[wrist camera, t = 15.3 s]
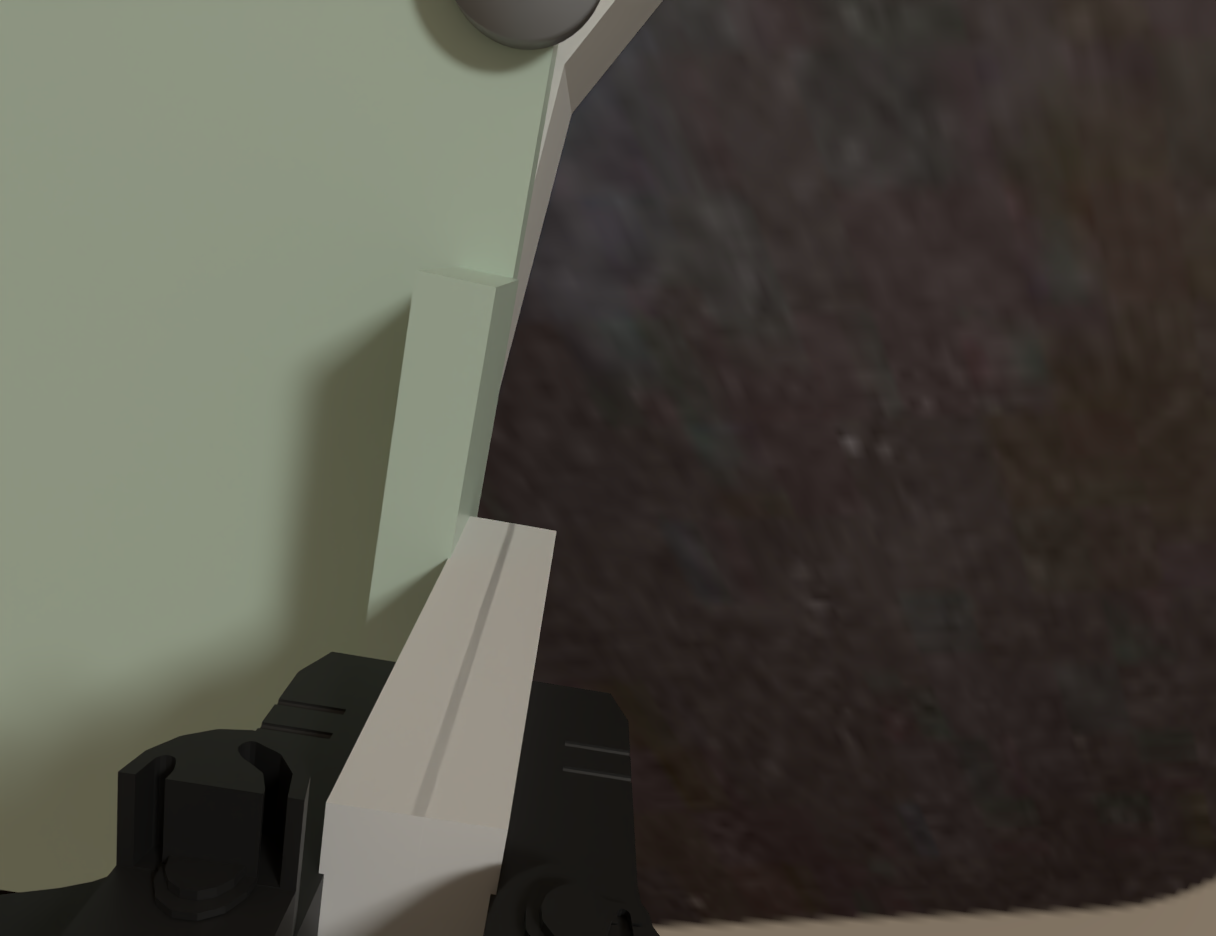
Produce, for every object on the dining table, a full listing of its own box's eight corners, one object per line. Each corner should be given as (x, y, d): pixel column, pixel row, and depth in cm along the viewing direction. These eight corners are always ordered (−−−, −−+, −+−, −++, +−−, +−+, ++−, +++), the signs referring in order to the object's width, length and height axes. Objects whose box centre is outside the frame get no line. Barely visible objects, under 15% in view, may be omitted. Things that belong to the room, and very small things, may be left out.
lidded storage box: (473, 783, 21) (442, 916, 17) (-260, 609, 20) (-501, 710, 15) (734, -112, 16) (787, -251, 11) (-263, -473, 14) (-648, -800, 10)
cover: (-286, 811, 16) (-554, 981, 12) (-420, -357, 11) (-956, -681, 7) (432, 920, 17) (387, 1107, 13) (623, -91, 12) (636, -248, 8)
